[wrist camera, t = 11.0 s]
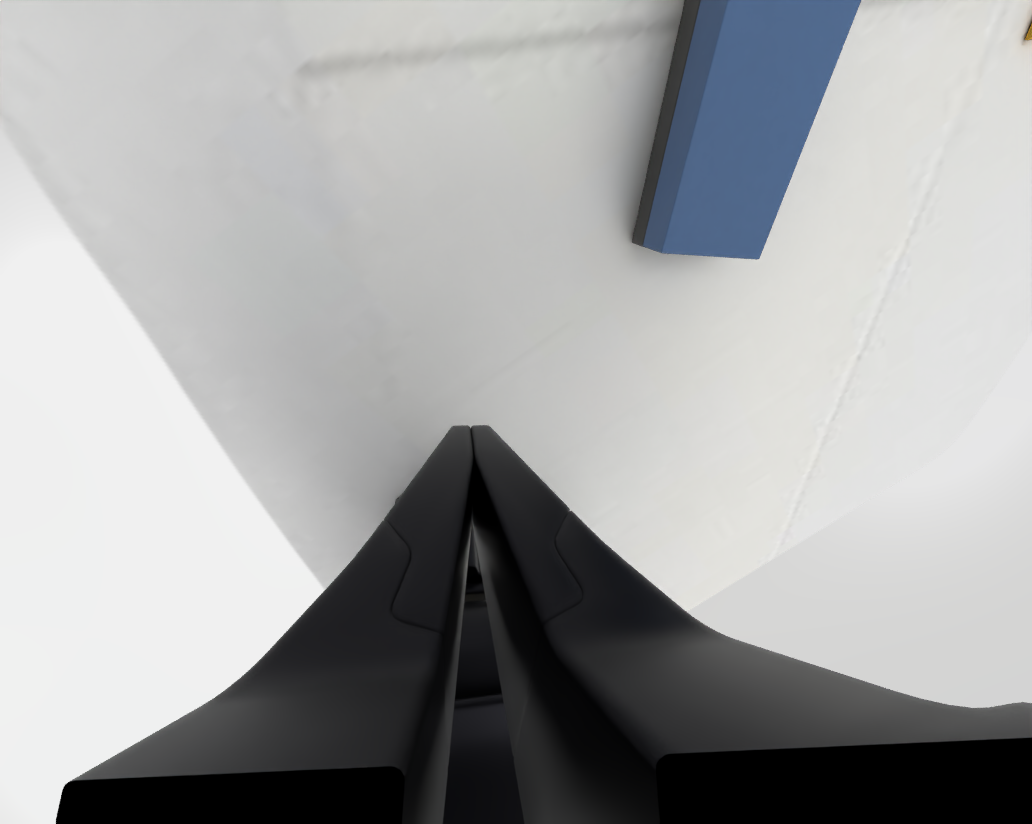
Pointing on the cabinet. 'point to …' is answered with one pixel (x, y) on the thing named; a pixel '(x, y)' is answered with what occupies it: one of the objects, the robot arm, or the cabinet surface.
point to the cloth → (1029, 34)
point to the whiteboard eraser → (736, 121)
